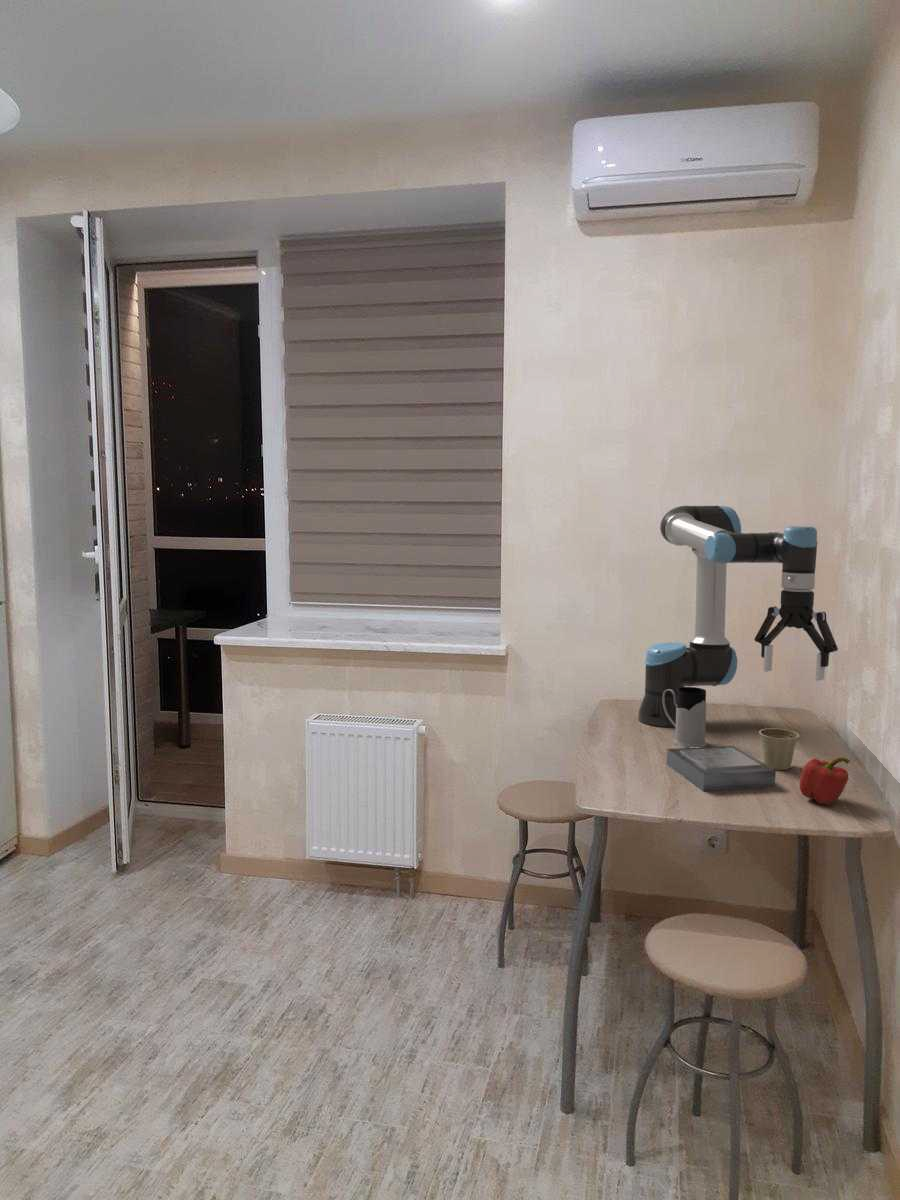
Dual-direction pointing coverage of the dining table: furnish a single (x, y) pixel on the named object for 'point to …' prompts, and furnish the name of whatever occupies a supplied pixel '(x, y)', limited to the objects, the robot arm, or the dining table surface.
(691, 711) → the grey pitcher
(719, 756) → the gray square platform
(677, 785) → the dining table surface
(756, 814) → the dining table surface
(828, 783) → the vegetable
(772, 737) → the flower pot
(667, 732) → the dining table surface
